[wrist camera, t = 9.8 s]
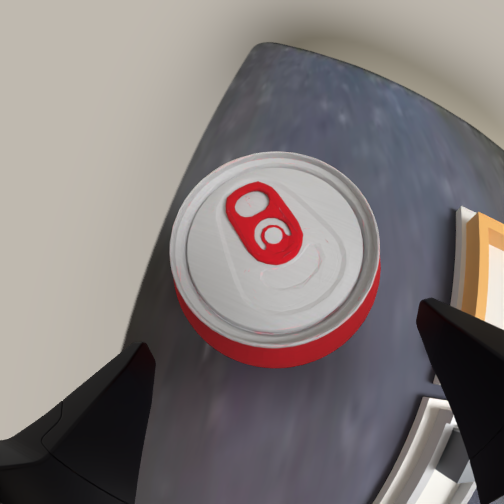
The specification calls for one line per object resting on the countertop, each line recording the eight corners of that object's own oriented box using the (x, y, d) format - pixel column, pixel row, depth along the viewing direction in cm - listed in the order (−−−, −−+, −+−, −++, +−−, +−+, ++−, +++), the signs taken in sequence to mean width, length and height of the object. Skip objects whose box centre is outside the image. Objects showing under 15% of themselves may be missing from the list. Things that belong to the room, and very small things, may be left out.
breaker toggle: (466, 464, 10) (495, 477, 6) (429, 465, 11) (457, 483, 7) (481, 429, 11) (513, 436, 7) (446, 427, 12) (478, 438, 8)
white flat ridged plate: (440, 526, 8) (454, 539, 5) (353, 530, 10) (360, 550, 8) (499, 405, 12) (522, 407, 9) (423, 396, 14) (444, 401, 11)
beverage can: (263, 377, 16) (216, 420, 5) (218, 295, 18) (123, 205, 7) (347, 326, 17) (443, 273, 5) (298, 250, 19) (305, 112, 8)
